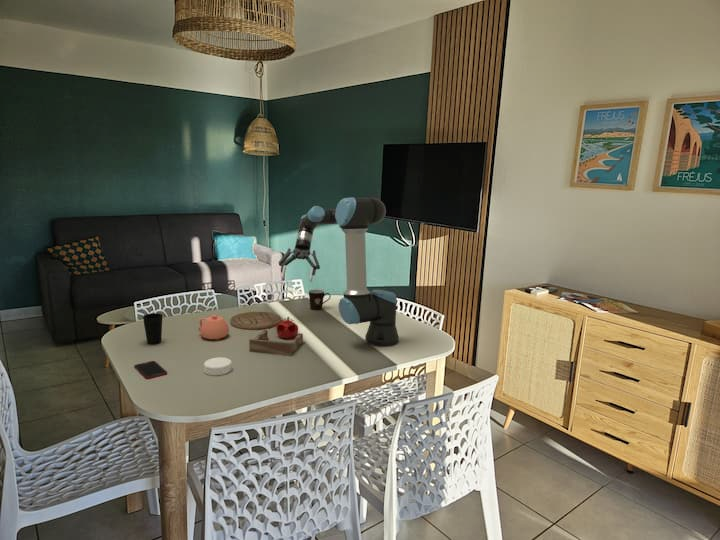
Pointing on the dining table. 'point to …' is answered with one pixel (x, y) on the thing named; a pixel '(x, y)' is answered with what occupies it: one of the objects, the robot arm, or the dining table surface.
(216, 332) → the sugar bowl
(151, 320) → the cup
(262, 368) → the dining table surface
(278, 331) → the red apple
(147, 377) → the cell phone
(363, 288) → the robot arm
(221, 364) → the white round disc
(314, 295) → the coffee mug
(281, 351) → the walnut pocket
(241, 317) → the trivet
